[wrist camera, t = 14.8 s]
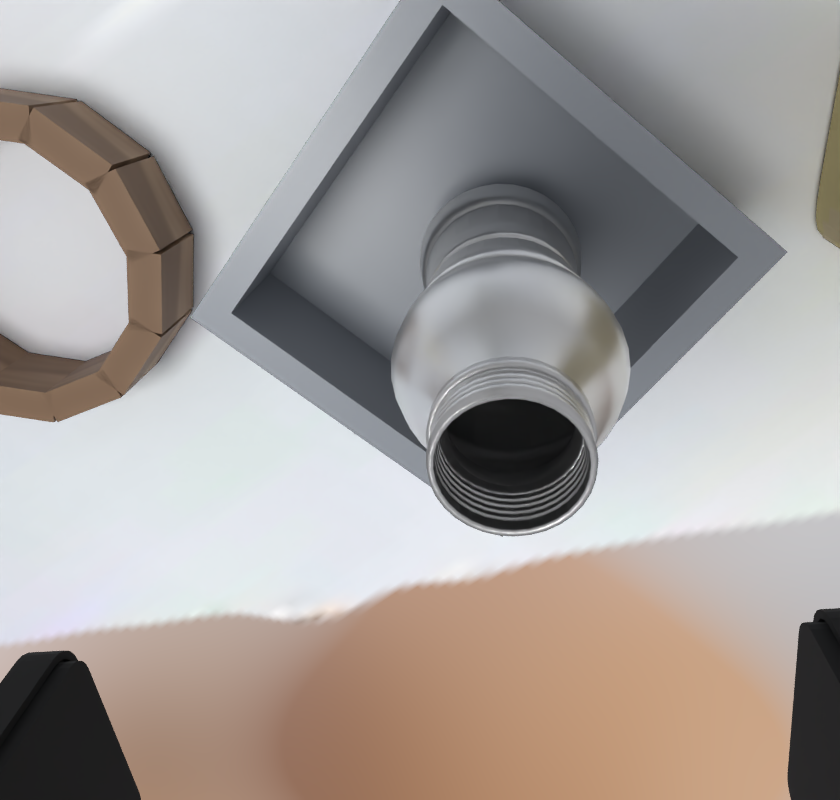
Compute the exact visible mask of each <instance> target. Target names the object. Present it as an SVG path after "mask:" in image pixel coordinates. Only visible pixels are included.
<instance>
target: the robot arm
mask: <svg viewBox="0 0 840 800" xmlns="http://www.w3.org/2000/svg"><path fill="white" fill-rule="evenodd" d="M788 787H789V793H790V797H791V800H840V608H838V609H820V610H817V611H816V613H815V615H814V620H813V622H807V623H802V624H801V626H800V629H799V638H798V650H797V663H796V676H795V688H794V701H793V714H792V726H791V738H790V751H789V764H788ZM0 800H141V798H140V794H139V791H138V789H137V786H136V784H135V781H134V779H133V776H132V774H131V771H130V769H129V766H128V764H127V761H126V759H125V757H124V754H123V752H122V749H121V747H120V744H119V742H118V739H117V737H116V735H115V732H114V730H113V727H112V725H111V722H110V720H109V717H108V715H107V713H106V710H105V708H104V705H103V703H102V700H101V698H100V695H99V693H98V691H97V688H96V686H95V683H94V681H93V678H92V676H91V673H90V671H89V668H88V667H87V665H86V664H85V663H84V662H83V661H78V660H77V658H76V656H75V655H74V654H73V653H71V652H70V651H52V652H33V653H27V654H25V655H22V656H21V658H20V659H18V661H17V662H16V663H15V664H14V666H13V667H12V668H11V670H10V671H9V672H8V674H7V675H6V676H5V678H4V679H3V680H2V682H1V683H0Z"/></svg>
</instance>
